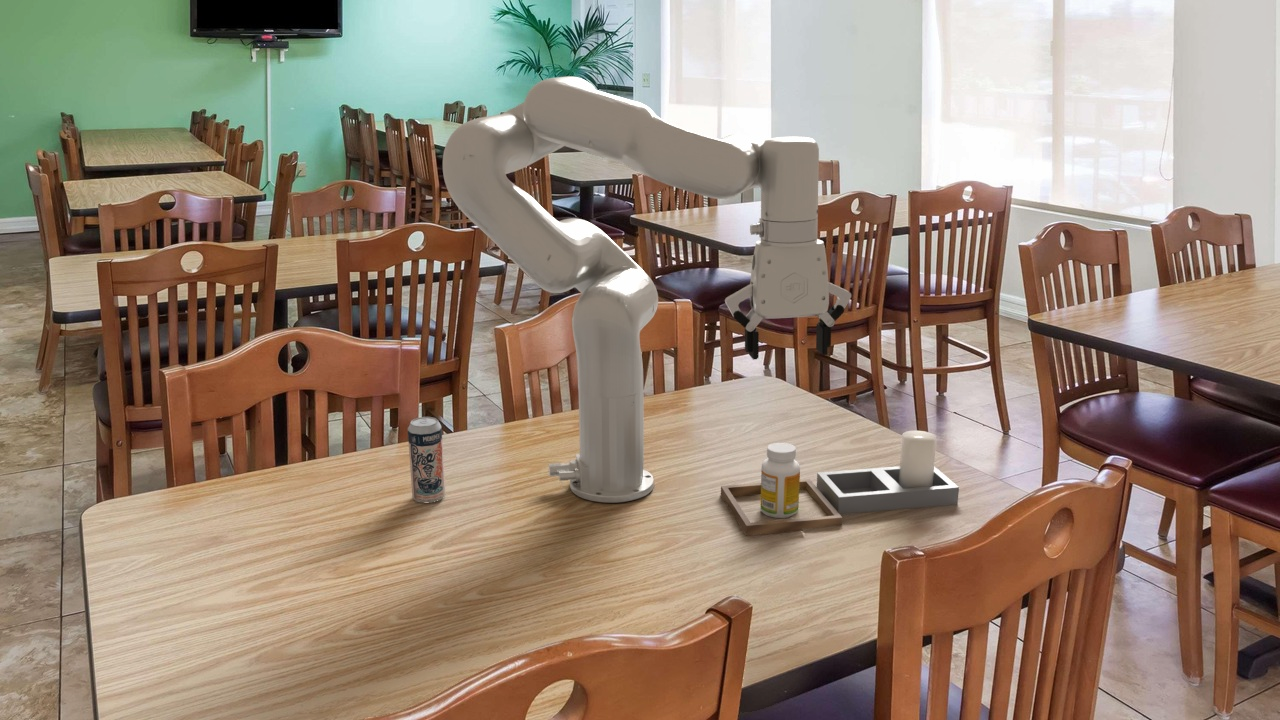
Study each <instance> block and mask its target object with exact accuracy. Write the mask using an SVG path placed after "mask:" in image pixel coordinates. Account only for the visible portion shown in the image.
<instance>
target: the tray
mask: <svg viewBox="0 0 1280 720" xmlns="http://www.w3.org/2000/svg"><path fill="white" fill-rule="evenodd" d="M804 489H805V490H806V491H807V492H808V494H810V496H811V497H812V498H813V499H814V500H815V501H816V503H817V504H818V505H819V507H821V509H822V510H823V512H824V513H826V515H825V516H814V517H813V516H812V517H802V518H801V517H800V518H790V519H779V520H778V519H777V520H767V521H755V522H751V521H750V520H749V518H748V516H747V515H746V513H745V512H744V510H743V509H742V507H741V506H740V504H739V503H738V501H737V500H736V498H735V497H744V496H745V497H746V496H759V495H760V496H761V482H756V483H755V482H754V483H753V482H752V483H742V484H731V485H721V486H720V496H721V498H722V500H723V501H724V503H725V504H726V506H727V508H728V509H729V511H730V512H731V514H732V515H733V518H734V519H735V520H736V521H737V523H738V525H739V526H740V528H741V529H742V532H743V533H744V535H745V536H747V537H748V536H749V537H750V536H760V535H761V536H762V535H770V534H771V535H773V534H782V533H783V534H784V533H793V532H803V531H804V530H803V529H812V528H813V529H814V528H824V527H825V528H826V527H834V526H835V527H836V526H837V527H838V526H843V516H842V514H839V513H838V512H837V511H836V509H835V508H834V507H833V506H832V505H831V504H830V502H829V501H828V500H827V499H826V498H825V497H824V495H823V494H822V493H821V492H820V491H819V490H818V488H817V485H815V484H814V483H813V481H812V480H811V479H810V478H806V479H805V478H804V479H800V484H799V490H804Z"/></svg>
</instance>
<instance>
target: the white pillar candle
mask: <svg viewBox="0 0 1280 720" xmlns="http://www.w3.org/2000/svg"><path fill="white" fill-rule="evenodd" d="M936 447H937V436H936V434H934V433H931V432H929V431H925V430H907V431H905V432H903V433H902V434H901V447H900V462H899V463H900V464H899V466H900V472H899V485H900V486H901V487H902V488H903V489H908V488H920V487H932V486H933V474H934V466H935V460H936V459H935V458H936Z"/></svg>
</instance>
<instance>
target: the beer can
mask: <svg viewBox="0 0 1280 720" xmlns="http://www.w3.org/2000/svg"><path fill="white" fill-rule="evenodd" d="M442 429H443V428H442V425H441V423H440V422H439V419H437V418H436V417H434V416H433V417H431V416H421V417H417V418H414V419H412V420H411V421H410V423H409V426H408V427H407V438H408V451H409V468H410V469H409V470H410V480H411V481H410V483H411V496H412V499H413V500H415V501H416V502H418V501H419V502H418V503H420V502H434V501H437V500H439V501H441V500H442V499H444V498H445V496H446V493H447V492H446V480H445V479H446V477H445V461H444V446H443V445H444V444H443V430H442ZM443 497H444V498H443ZM440 499H441V500H440ZM437 502H438V501H437ZM434 503H435V502H434Z"/></svg>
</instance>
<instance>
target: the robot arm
mask: <svg viewBox="0 0 1280 720" xmlns="http://www.w3.org/2000/svg"><path fill="white" fill-rule="evenodd" d="M564 147H566V148H569V149H574V150H577V151H579V152H583V153H587V154H589V155H592V156H596V157H599V158H602V159H606V160H609V161H611V162H615V163H618V164H621V165H624V166H626V167H628V168H630V169H631V170H633V171H635V172H637V173H639V174H641V175H642V174H643V175H644V176H646V177H649V178H651V179H653V180H655V181H656V182H660V183H663V184H665V185H668V186H670V187H674V188H677V189H680V190H683V191H686V192H690V193H693V194H696V195H699V196H703V197H707V198H710V199H714V200H715V199H716V200H728V199H729V200H730V199H732V198H735V197H737V196H739V195H741V194H742V193H743V192H744V193H745V191H748V190H751V189H757V188H758V189H759V188H760V218H759V220H758V223H757V222H756V223H755V224H750V225H749V232H750V233H749V234H750V235H751V236H752V235H756V236H758V237H759V238H760V240H757V241H755V246H754V251H753V256H752V257H753V258H752V261H751V262H752V263H751V272H750V282H749V284H747V285H746V286H744V287H743V288H741V289H739V290H738V291H735V292H734V293H732V294H730V295H728V296H727V297H725V299H724V302H725V305H726V307H727V308H728V310H729V311H730V313H731V315H732V317H733V318H734V319H735V321H736V322H738V323H739V324H740V325H741V326H742V327H743V328H744V350H745V352H746V353H748V355H749V356H750V358H751V359H752V360H758V359H759V357H760V356H759V340H760V339H759V331H758V330H757V326H758V325H760V323H761V322H762V320H763V319H787V318H788V319H790V318H791V319H792V318H805V317H818V319H819V321H817V323H816V328H815V329H816V332H815V333H816V336H815V338H816V339H815V341H816V342H815V343H816V345H815V349H816V350H817V351H818V353H820V354H821V355H822V356H827V355H828V349H829V348H831V345H832V327H834V325H835V323H836V321H837V320H838V319H839V318H840V317H841V316H842V315H843V314H844V312H845V309H846V307H847V305H848V304H849V302H850V300H851V298H852V293H851V292H850V291H848V290H847V289H845V288H842V287H841V286H839V285H836V284H833V283H832V282H829V275H828V274H829V272H828V263H827V261H828V260H827V254H826V247H825V242H824V241H823V240H821V239H818V226H819V224H818V222H819V219H818V216H819V179H820V178H819V175H820V174H819V171H820V170H819V168H820V166H819V165H820V164H819V163H820V151H819V150H820V149H819V144H818V143H817V141H816V140H815V139H814V138H811V137H808V136H807V137H806V136H792V135H791V136H777V137H772V138H769V137H762V136H756V135H749V134H748V135H747V134H731V135H727V136H724V137H721V138H714V137H711V136H707V135H704V134H703V133H702V134H701V133H698V132H694V131H691V130H688V129H685V128H682V127H679V126H676V125H674V124H672V123H670V122H667V121H666V120H664V119H662V118H661V117H659V116H658V115H657V114H656V113H655V112H654V111H653V110H652V109H651V107H649V106H648V105H646V104H644V103H642V102H640V101H637V100H632V99H629V98H625V97H622V96H619V95H614V94H611V93H609V92H605V91H601V90H598V89H596V88H595V87H594V86H593V84H591V82H588V81H587V80H585V79H583V78H581V77H578V76H572V75H571V76H570V75H567V76H558V77H551V78H546V79H543V80H540V81H539V82H536V84H534V85H533V86H532V87H531V88H530V89H529V91H528V92H527V94H526V96H525V99H524V101H523V102H521V103H520V104H518V105H516V106H513V107H512V108H509V110H507V111H504V112H502V113H500V114H493V115H489V116H488V115H487V116H482V117H478V118H474V119H471V120H469V121H466V122H464V123H462V124H461V125H459V126H458V127H456V129H455V130H454V131H452V133H451V134H450V136H449V138H448V140H447V142H446V144H445V148H444V149H443V155H442V156H443V157H442V173H443V180H444V183H445V187H446V190H447V192H448V194H449V196H450V198H451V199H452V200H453V202H454V203H455V205H456V206H457V208H458V209H459V211H461V212H462V213H463V214H464V215H465V216H466V218H468V220H470V221H471V222H472V224H474V225H475V226H476V227H477V228H478V229H480V230H481V231H482V232H483V233H484V234H485V235H486V236H487V237H488V238H489V239H490V240H491V241H492V242H493V243H494V244H495V245H496V246H497V248H499V249H500V250H501V251H502V252H503V253H504V255H506V256H507V257H508V258H509V259H510V260H511V261H512V262H513V263H514V264H515V265H516V266H517V267H518V268H519V269H520V270H521V271H523V273H524V274H525V275H527V277H528V278H529V279H530V280H531V281H532V282H533V283H535V284H536V286H538V287H539V288H540V289H542V290H543V291H545V292H547V293H552V294H561V293H565V292H568V291H570V290H572V289H574V288H576V290H578V292H580V293H581V294H580V295H579V297H578V299H577V301H576V302H575V304H574V308H573V311H572V319H571V325H572V326H571V327H572V335H573V340H574V346H575V353H576V364H577V390H578V423H579V424H578V425H579V429H578V431H579V433H578V434H579V453H576V454H575V459H571V460H569V462H564V463H563V462H562V463H561V462H554V463H548V474H549V475H548V476H549V477H558V480H559V481H560V482H562V481H569V489H570V491H571V492H572V493H573V494H575V495H576V496H577V497H579V498H581V499H584V500H587V501H591V502H596V503H605V504H606V503H607V504H608V503H611V504H615V503H625V502H630V501H635V500H638V499H641V498H643V497H645V496H647V495H648V494H649V493H651V492H653V490H654V487H655V478H654V475H653V474H652V473H650V472H649V471H648V470H646V469H645V467H644V465H645V464H644V461H645V458H644V455H645V454H644V452H645V451H644V450H645V449H644V445H645V444H644V443H645V441H644V440H645V439H644V438H645V437H644V433H645V432H644V426H645V425H644V424H645V423H644V422H645V421H644V415H645V414H644V407H645V404H644V402H645V401H644V400H645V399H644V398H645V397H644V368H643V367H644V366H643V365H644V364H643V357H642V350H641V342H640V334H641V331H642V329H643V328H644V327H645V326H646V325H647V324H649V322H650V321H652V319H653V318H654V316H655V314H656V312H657V309H658V305H659V293H658V291H657V287H656V285H655V284H654V281H653V280H652V278H651V276H649V274H647V273H646V272H645V270H643V268H642V267H641V266H640V265H639V264H637V263H636V261H634V259H632V257H630V256H629V254H627V253H626V252H625V251H624V250H623V249H622V248H621V247H620V246H619V245H618V244H617V243H616V242H615V241H614V240H613V239H611V237H610V236H608V235H607V234H606V233H605V232H604V231H603V230H602V229H601V228H599V227H598V226H596V225H595V224H593V223H592V222H589V221H587V220H585V219H582V218H574V217H573V218H571V217H570V218H564V219H562V220H557V219H556V218H555V217H553V216H552V215H551V214H550V212H548V211H547V209H545V208H544V207H542V206H541V204H540V203H539V202H538V201H537V200H536V199H535V198H534V197H532V195H530V194H529V193H528V192H526V191H525V190H523V189H522V188H520V187H519V186H518V185H516V184H515V183H513V182H512V181H511V180H510V179H509V178H508V177H507V174H510V173H514V172H517V171H519V170H522V169H525V168H526V167H528V166H531V165H532V164H534V163H536V162H538V161H540V160H541V159H543V158H545V157H546V156H549V155H551V154H553V153H555V152H556V151H558V150H560V149H562V148H564ZM830 294H831V295H834V296H835V297H836V300H835V303H834V304H833V305H832V306H831V307H830V308H829V306H830ZM748 298H749V306H750V308H751V309H750V310H749V312H748V313H747V314H746V315H745V314H744V313H743V312H742V311H741V309H740V307H739V305H740V303H742V302H744V301H745V300H747V299H748Z"/></svg>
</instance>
